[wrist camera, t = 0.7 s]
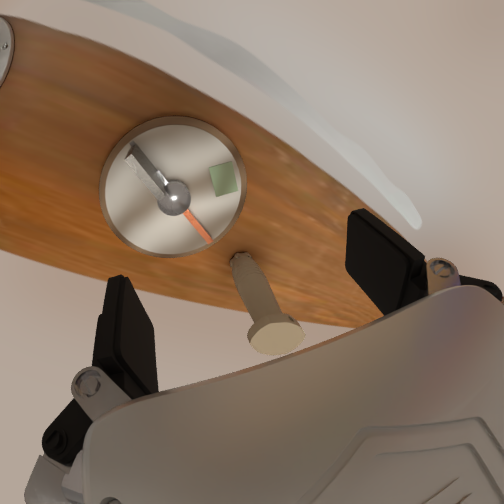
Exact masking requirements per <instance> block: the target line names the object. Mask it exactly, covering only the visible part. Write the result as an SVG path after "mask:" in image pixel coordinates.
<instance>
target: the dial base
mask: <svg viewBox="0 0 504 504" xmlns="http://www.w3.org/2000/svg"><path fill="white" fill-rule="evenodd" d="M134 144H137V145H138V146H139V148H140V149H141V150H142V151H143V153H144V154H145V155H146V156H147V158H148V159H149V160H150V162H151V163H152V164H153V165H154V167H155V168H156V169H157V170H158V169H159V170H160V172H161V173H162V174H163V175H164V177H165V178H166V179H167V180H168V181H169V180H180V181H182V182H184V183H185V184H186V185H187V187H188V189H189V192H190V195H191V203H190V206H189V208H188V210H189V211H190V212H191V213H192V215H193V216H194V217H195V218H196V220H197V221H198V222H199V223H200V224H201V226H202V227H203V228H204V229H205V230H206V232H207V233H208V234H209V235H210V237H211V238H212V239H213V242H211V243H210V244H208V243H207V242H206V241H205V239H204V238H203V237H202V236H201V235H200V234H199V232H198V231H197V230H196V229H195V228H194V226H193V225H192V224H191V223H190V222H189V221H188V219H187V218H186V217H185V216H184V215H183V213H182V214H180V215H177V216H170V215H166V214H165V213H163V212H162V211H161V210H160V209H159V207H158V204H157V199H156V197H155V196H154V195H153V194H152V193H151V191H150V190H149V189H148V188H147V187H146V186H145V184H144V183H143V182H142V181H141V180H140V178H139V177H138V176H137V175H136V174H135V172H134V171H133V170H132V169H131V167H130V166H129V165H128V164H127V163H126V161H125V160H124V159H125V157H126V155H127V153H128V151H129V149H130V148H131V147H132V146H133V145H134ZM246 193H247V177H246V171H245V166H244V163H243V161H242V158H241V156H240V154H239V152H238V150H237V149H236V147H235V146H234V145H233V143H232V142H231V141H230V140H229V139H228V138H227V137H226V136H225V135H224V134H223V133H221V132H220V131H219V130H217V129H216V128H215V127H213V126H212V125H210V124H208V123H206V122H204V121H201V120H199V119H196V118H192V117H187V116H164V117H159V118H155V119H152V120H149V121H146V122H144V123H142V124H140V125H138V126H137V127H135V128H134V129H132V130H131V131H129V132H128V133H127V134H126V135H125V136H124V137H123V138H122V139H121V140H120V141H119V142H118V143H117V145H116V146H115V147H114V148H113V150H112V151H111V153H110V155H109V156H108V158H107V160H106V162H105V164H104V167H103V169H102V173H101V177H100V183H99V199H100V206H101V209H102V212H103V215H104V218H105V220H106V222H107V224H108V225H109V227H110V228H111V230H112V231H113V232H114V233H115V235H116V236H117V237H118V238H119V239H120V240H121V241H123V242H124V243H125V244H126V245H128V246H129V247H131V248H133V249H135V250H136V251H138V252H141V253H144V254H146V255H150V256H154V257H161V258H177V257H184V256H188V255H192V254H195V253H198V252H200V251H202V250H205V249H207V248H208V247H210V246H212V245H213V244H215V243H216V242H217V241H219V240H220V239H221V238H222V237H223V236H224V235H225V234H226V233H227V232H228V231H229V230H230V229H231V228H232V226H233V225H234V224H235V222H236V220H237V219H238V217H239V215H240V213H241V211H242V208H243V205H244V202H245V198H246Z"/></svg>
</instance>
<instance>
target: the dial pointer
mask: <svg viewBox="0 0 504 504" xmlns="http://www.w3.org/2000/svg"><path fill="white" fill-rule="evenodd" d="M124 160H125V161H126V163H127V164H128V165H129V166H130V167H131V169H132V170H133V171H134V172H135V174H136V175H137V176H138V177H139V178H140V180H141V181H142V182H143V183H144V184H145V186H146V187H147V188H148V189H149V190H150V191H151V193H152V194H153V195H154V196H155V197H156V199H157V204H158V207H159V209H160V210H161V211H162V212H163V213H165V214H166V215H170V216H177V215H180V214H182V213H183V215H184V216H185V217H186V218H187V219H188V221H189V222H190V223H191V224H192V225H193V226H194V228H195V229H196V230H197V231H198V232H199V234H200V235H201V236H202V237H203V238H204V239H205V241H206V242H207V243H208V244H210V243H211V242H213V239H212V238H211V237H210V235H209V234H208V233H207V232H206V230H205V229H204V228H203V227H202V226H201V224H200V223H199V222H198V221H197V220H196V218H195V217H194V216H193V215H192V213H191V212H190V211H189V210H188V208H189V206H190V203H191V195H190V192H189V189H188V187H187V185H186V184H185V183H184V182H182V181H180V180H169V181H168V180H167V179H166V178H165V177H164V175H163V174H162V173H161V172H160V170H159V169H158V170H157V169H156V168H155V167H154V165H153V164H152V163H151V162H150V160H149V159H148V158H147V156H146V155H145V154H144V153H143V151H142V150H141V149H140V148H139V146H138V145H137V144H134V145H133V146H132V147H131V148H130V149H129V151H128V153H127V155H126V157H125V159H124Z"/></svg>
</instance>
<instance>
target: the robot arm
mask: <svg viewBox="0 0 504 504" xmlns="http://www.w3.org/2000/svg"><path fill="white" fill-rule="evenodd" d="M13 51H14V35H13V31H12V28H11V26H10V24H9V23H8V22H7V21H6V20H5V19H3V18H1V17H0V86H1V85H2V83H3V81H4V79H5V77H6V75H7V72H8V70H9V67H10V64H11V61H12V56H13ZM424 259H425V256H424V255H423V254H422V253H421V252H420V251H418V250H417V249H416V248H415V247H414V246H412V245H411V244H410V243H409V242H407V241H406V240H405V239H404V238H402V237H401V236H400V235H399V234H397V233H396V232H395V231H394V230H392V229H391V228H390V227H388V226H387V225H386V224H385V223H383V222H382V221H381V220H379V219H378V218H377V217H375V216H374V215H373V214H371V213H370V212H369V211H367V210H366V209H364V208H362V209H358V210H354V211H352V212H351V214H350V215H349V216H348V223H347V245H346V261H345V267H346V270H347V272H348V274H349V275H350V276H351V277H352V278H353V279H354V280H355V282H356V283H357V284H358V285H359V286H360V287H361V288H362V290H363V291H364V292H365V293H366V294H367V295H368V297H369V298H370V299H371V300H372V301H373V303H374V304H375V305H376V306H377V307H378V309H379V310H380V311H381V312H382V313H383V315H384V316H383V317H381V318H379V319H377V320H374V321H372V322H370V323H367V324H365V325H363V326H361V327H358V328H356V329H353V330H351V331H349V332H346V333H344V334H341V335H339V336H336V337H334V338H332V339H329V340H327V341H324V342H321V343H319V344H316V345H313V346H311V347H308V348H305V349H303V350H300V351H297V352H295V353H291V354H289V355H286V356H283V357H280V358H277V359H274V360H271V361H268V362H265V363H262V364H259V365H256V366H253V367H249V368H246V369H243V370H240V371H236V372H233V373H229V374H226V375H222V376H219V377H215V378H212V379H208V380H204V381H201V382H197V383H193V384H190V385H185V386H181V387H177V388H173V389H169V390H165V391H161V392H159V391H158V380H157V368H156V356H155V340H154V328H153V325H152V322H151V320H150V319H149V317H148V315H147V313H146V311H145V309H144V307H143V305H142V303H141V302H140V300H139V298H138V296H137V294H136V292H135V290H134V288H133V286H132V284H131V282H130V280H129V278H128V277H124V276H123V275H118V276H115V277H111V278H109V279H108V283H107V288H106V293H105V299H104V305H103V311H102V314H100V315H99V317H98V322H97V329H96V336H95V343H94V351H93V360H92V366H91V367H86V368H84V369H82V370H81V371H79V372H78V373H77V374H76V376H75V377H74V379H73V381H72V385H71V391H72V395H73V397H74V399H73V400H72V401H71V402H70V403H69V404H68V405H67V407H66V408H65V409H64V410H63V411H62V412H61V413H60V415H59V416H58V417H57V418H56V419H55V420H54V421H53V422H52V423H51V425H50V426H49V427H48V428H47V429H46V431H45V432H44V434H43V437H42V447H43V450H44V455H43V456H41V455H39V458H38V460H37V462H36V465H35V467H34V469H33V471H32V474H31V476H30V479H29V481H28V484H27V486H26V489H25V493H24V497H25V502H26V504H504V297H503V296H502V292H501V290H500V289H499V288H498V287H497V286H496V285H495V284H494V283H492V282H489V281H485V280H480V279H476V278H471V277H466V276H462V275H459V273H458V270H457V267H456V266H455V265H454V264H453V263H452V262H450V261H448V260H446V259H443V258H432V259H430V260H429V261H428V262H427V263H426V262H425V261H424Z"/></svg>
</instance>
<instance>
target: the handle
mask: <svg viewBox="0 0 504 504" xmlns="http://www.w3.org/2000/svg"><path fill="white" fill-rule="evenodd" d="M230 266H231V267H232V274H233V278H234V282H235V285H236V287H237V290H238V292H239V294H240V296H241V298H242V300H243V302H244V304H245V306H246V308H247V310H248V312H249V314H250V315H251V317H252V319H253V321H254V324H253V325H252V326H251V328H250V329H249V331H248V335H247V336H248V340H249V343H250V345H251V346H252V347H253V348H254V349H255V350H256V351H257V352H260V353H262V354H267V355H281V354H286V353H289V352H291V351H292V350H294V349H295V348H296V347H298V345H300V344H301V342H302V341H303V340H304V338H305V333H304V331H303V330H302V328H301V326H300V325H299V323H298V322H297V320H296V319H294V318H293V317H292V316H290V315H289V314H283V313H282V311H281V309H280V307H279V305H278V303H277V301H276V299H275V296H274V294H273V292H272V290H271V287H270V285H269V283H268V281H267V279H266V277H265V275H264V273H263V272H262V270H261V269H260V267H259V266H258V265H257V263H256V262H255V261H254V260H253V259H252V257H251V255H250V254H249V253H247V252H245V253H236V254H235V256H234V257H233V258H232V259H231V260H230Z"/></svg>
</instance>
